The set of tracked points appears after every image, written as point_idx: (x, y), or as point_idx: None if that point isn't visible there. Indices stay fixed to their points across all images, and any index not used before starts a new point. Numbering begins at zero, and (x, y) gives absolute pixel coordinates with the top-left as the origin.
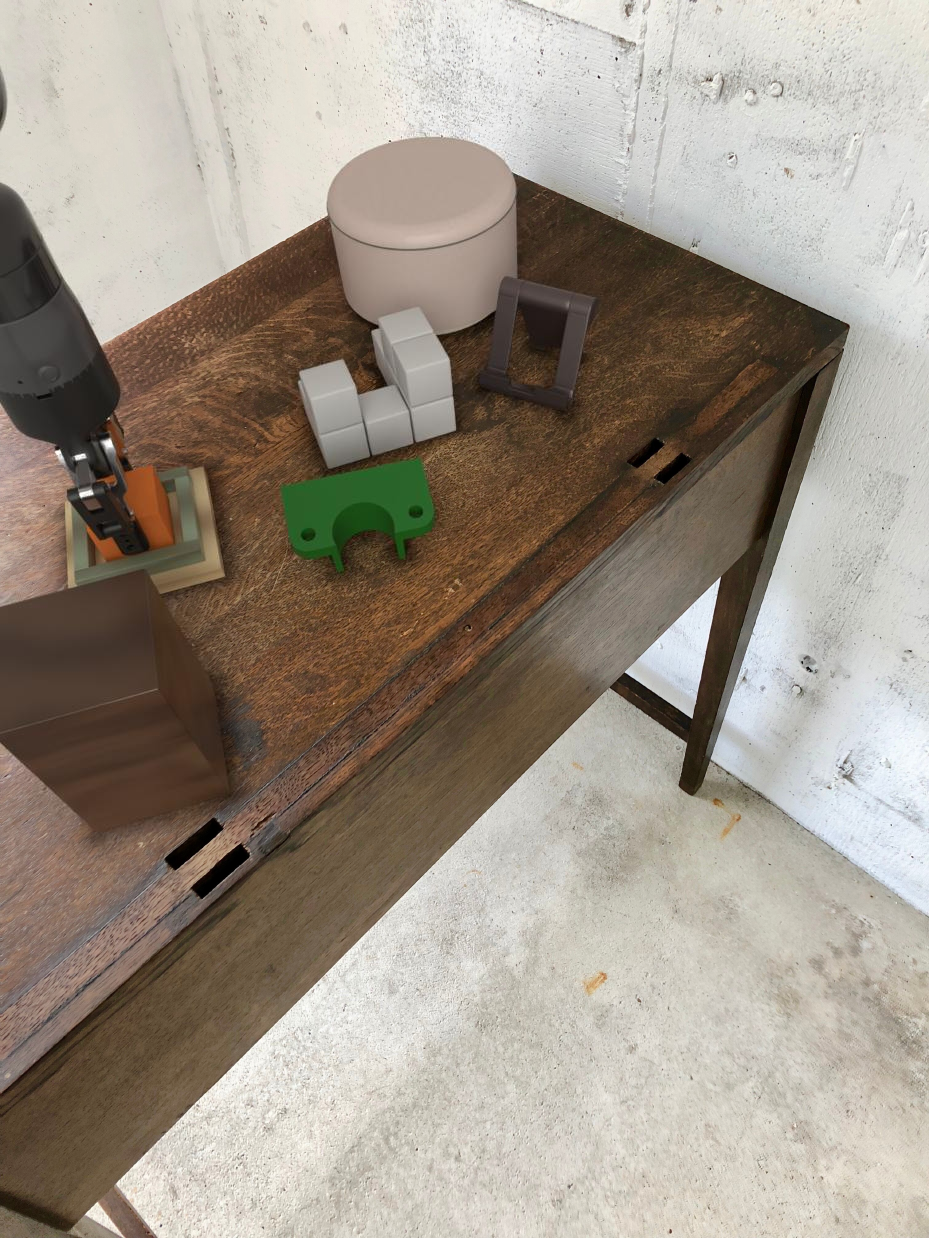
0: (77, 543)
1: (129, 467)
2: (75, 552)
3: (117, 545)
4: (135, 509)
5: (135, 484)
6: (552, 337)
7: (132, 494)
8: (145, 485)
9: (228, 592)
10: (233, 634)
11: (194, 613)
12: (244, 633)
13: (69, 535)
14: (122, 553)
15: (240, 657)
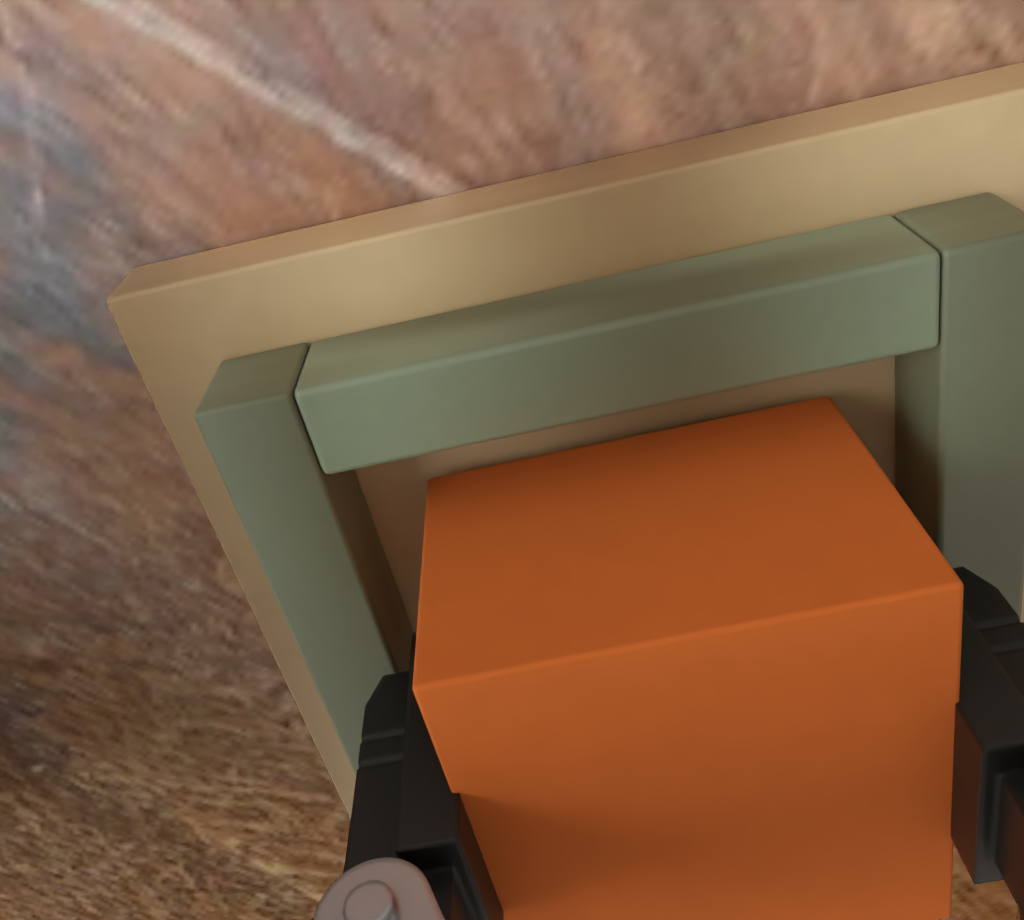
0: (534, 374)
1: (964, 857)
2: (454, 373)
3: (408, 691)
4: (572, 900)
5: (803, 871)
6: None
7: (715, 868)
8: (776, 911)
9: (306, 840)
10: (106, 870)
11: (197, 755)
12: (114, 895)
13: (727, 184)
14: (412, 639)
15: (6, 895)
